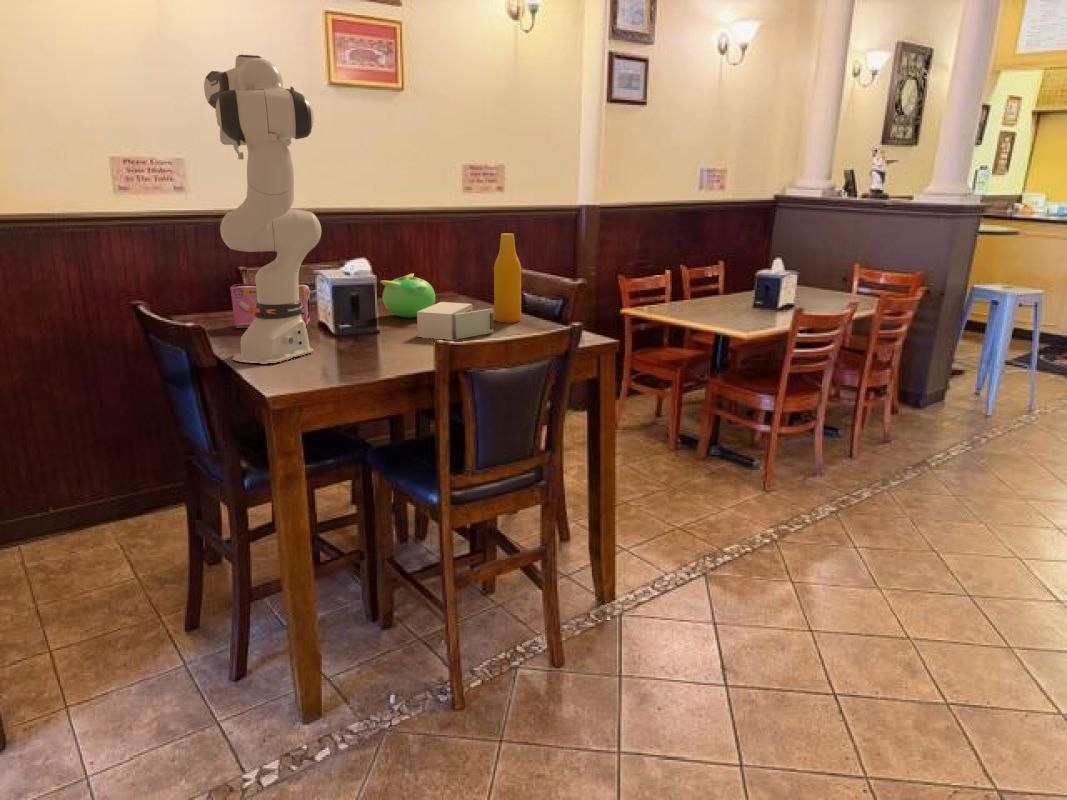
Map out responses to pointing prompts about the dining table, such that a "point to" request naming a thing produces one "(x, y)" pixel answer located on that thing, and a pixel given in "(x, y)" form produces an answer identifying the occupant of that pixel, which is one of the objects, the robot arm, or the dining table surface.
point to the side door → (472, 323)
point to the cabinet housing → (439, 319)
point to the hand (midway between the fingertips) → (257, 159)
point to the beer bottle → (507, 282)
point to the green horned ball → (407, 295)
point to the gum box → (248, 297)
